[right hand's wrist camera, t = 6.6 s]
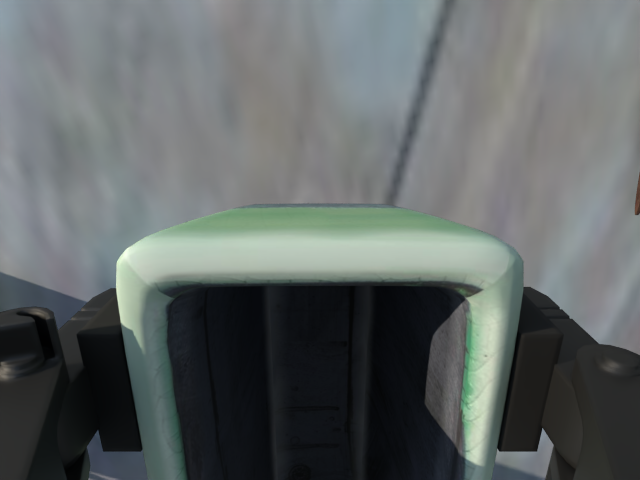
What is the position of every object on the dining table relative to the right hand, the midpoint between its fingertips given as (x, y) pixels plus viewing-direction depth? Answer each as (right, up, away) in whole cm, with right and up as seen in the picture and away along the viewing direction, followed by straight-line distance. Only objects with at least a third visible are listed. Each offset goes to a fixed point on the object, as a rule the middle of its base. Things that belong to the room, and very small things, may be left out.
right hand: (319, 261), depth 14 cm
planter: (0, -10, +4) cm, 11 cm away
